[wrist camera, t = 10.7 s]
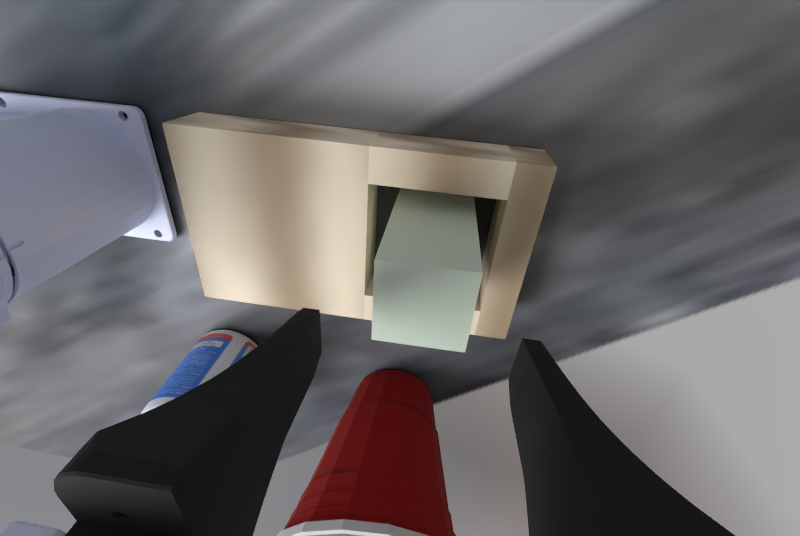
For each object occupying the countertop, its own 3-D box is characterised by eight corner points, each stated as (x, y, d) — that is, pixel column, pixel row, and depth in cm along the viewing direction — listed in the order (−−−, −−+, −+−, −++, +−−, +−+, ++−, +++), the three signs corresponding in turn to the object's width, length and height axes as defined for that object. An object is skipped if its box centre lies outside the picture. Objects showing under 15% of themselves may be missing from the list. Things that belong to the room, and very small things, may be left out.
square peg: (396, 249, 23) (371, 339, 16) (400, 186, 21) (374, 259, 14) (462, 257, 22) (465, 352, 16) (473, 194, 20) (482, 272, 14)
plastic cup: (377, 449, 34) (343, 625, 24) (302, 371, 30) (222, 545, 19) (489, 420, 30) (506, 617, 20) (421, 325, 26) (399, 514, 15)
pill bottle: (195, 359, 30) (99, 478, 22) (209, 316, 28) (104, 434, 19) (258, 387, 31) (187, 512, 23) (277, 347, 29) (205, 473, 20)
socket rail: (230, 270, 25) (205, 296, 23) (199, 111, 20) (161, 123, 17) (500, 307, 24) (505, 339, 21) (543, 149, 19) (557, 166, 16)
